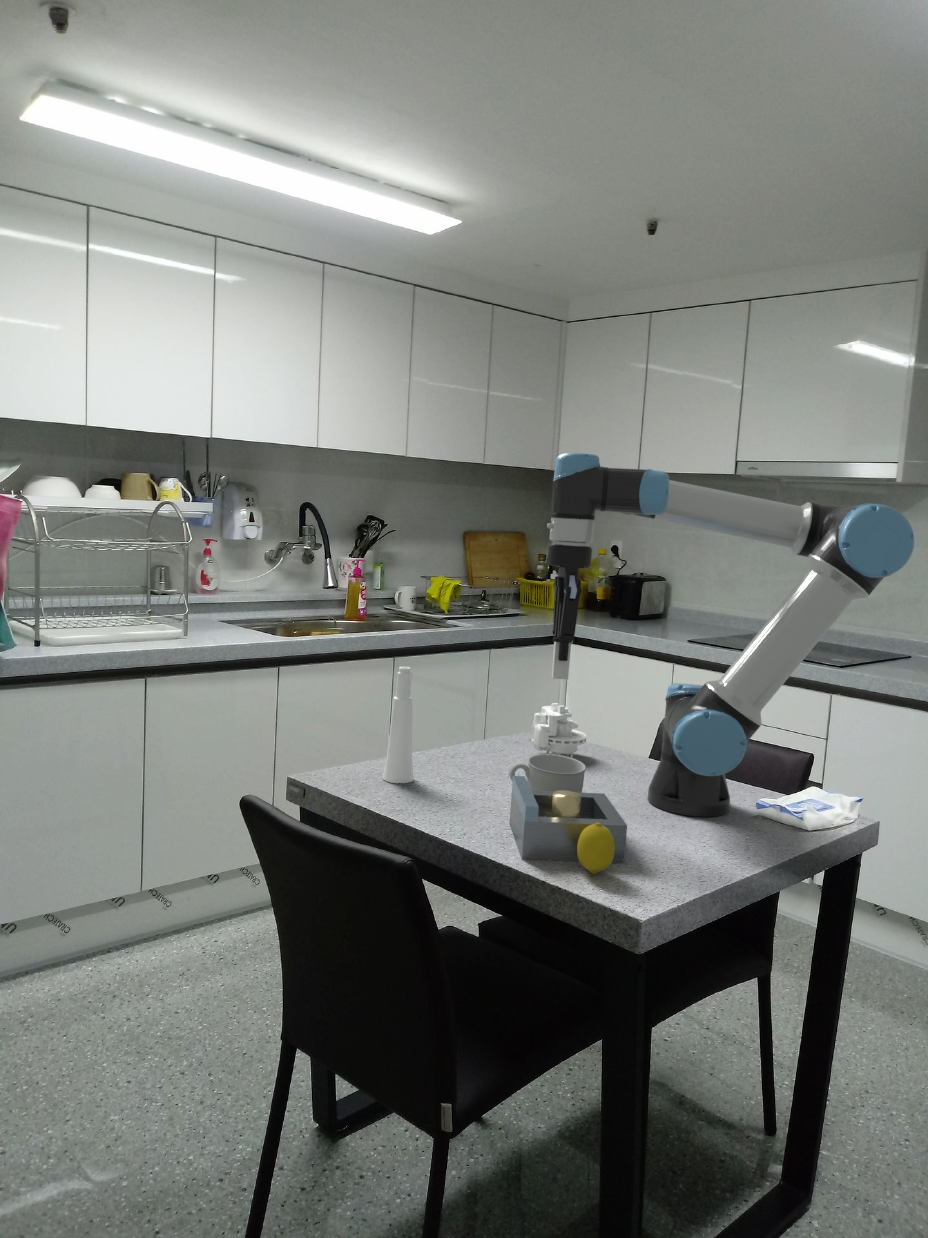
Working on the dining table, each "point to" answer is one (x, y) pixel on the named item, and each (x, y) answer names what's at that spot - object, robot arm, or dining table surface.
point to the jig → (559, 823)
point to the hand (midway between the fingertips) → (559, 678)
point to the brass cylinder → (566, 804)
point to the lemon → (596, 848)
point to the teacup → (552, 773)
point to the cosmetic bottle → (400, 732)
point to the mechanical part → (556, 731)
